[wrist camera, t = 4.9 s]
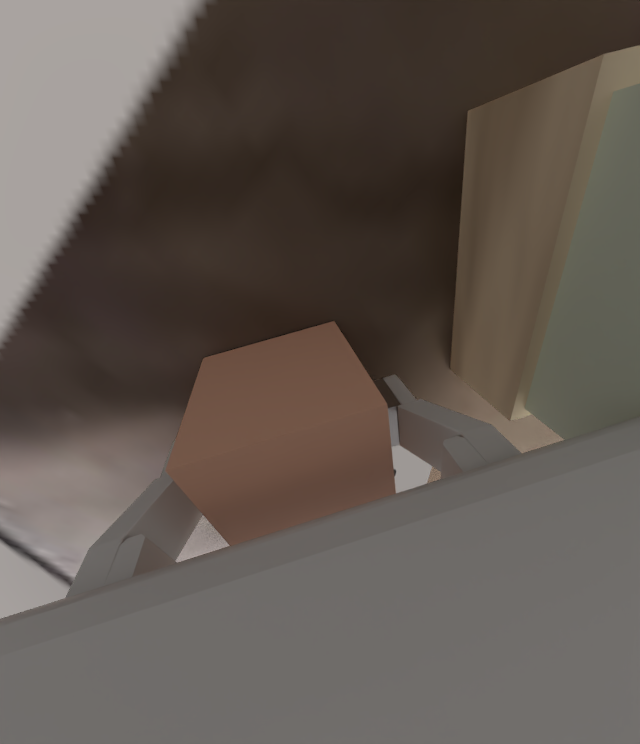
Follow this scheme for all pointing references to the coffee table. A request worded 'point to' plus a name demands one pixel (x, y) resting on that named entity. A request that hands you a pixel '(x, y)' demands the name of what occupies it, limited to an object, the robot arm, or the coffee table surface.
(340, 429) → the terracotta block
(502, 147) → the tower base
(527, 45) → the coffee table surface
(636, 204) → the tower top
